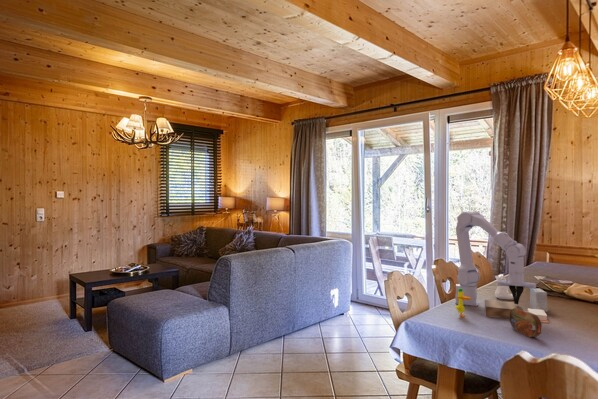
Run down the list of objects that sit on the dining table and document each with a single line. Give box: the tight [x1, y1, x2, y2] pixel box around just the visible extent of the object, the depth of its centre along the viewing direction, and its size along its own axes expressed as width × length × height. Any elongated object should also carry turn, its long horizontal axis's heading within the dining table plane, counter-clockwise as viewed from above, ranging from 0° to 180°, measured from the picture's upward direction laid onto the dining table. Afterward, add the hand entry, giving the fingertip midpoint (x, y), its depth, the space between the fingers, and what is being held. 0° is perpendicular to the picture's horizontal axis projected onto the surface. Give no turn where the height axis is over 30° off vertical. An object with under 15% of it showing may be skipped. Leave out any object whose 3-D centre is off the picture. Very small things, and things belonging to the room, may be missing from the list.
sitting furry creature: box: [494, 273, 514, 301], centre depth 195 cm, size 10×9×12 cm
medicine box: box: [529, 287, 548, 313], centre depth 176 cm, size 8×4×9 cm, turn 168°
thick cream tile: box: [526, 307, 548, 320], centre depth 164 cm, size 6×9×2 cm, turn 156°
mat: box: [540, 319, 550, 324], centre depth 164 cm, size 9×14×1 cm, turn 156°
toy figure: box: [454, 288, 471, 318], centre depth 166 cm, size 7×4×12 cm, turn 54°
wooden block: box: [484, 299, 523, 319], centre depth 169 cm, size 14×12×4 cm
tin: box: [509, 308, 542, 338], centre depth 146 cm, size 15×3×8 cm, turn 5°
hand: (516, 303), depth 167 cm, fingers closed
